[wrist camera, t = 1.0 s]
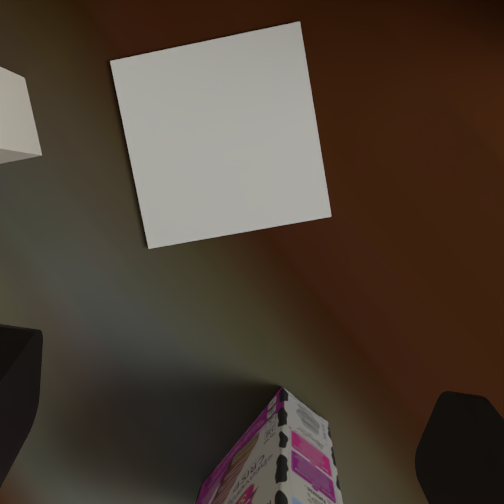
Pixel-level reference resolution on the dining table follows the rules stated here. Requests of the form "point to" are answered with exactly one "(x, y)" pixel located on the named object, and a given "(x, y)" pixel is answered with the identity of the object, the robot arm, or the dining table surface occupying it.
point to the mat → (222, 136)
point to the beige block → (16, 120)
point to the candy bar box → (278, 460)
